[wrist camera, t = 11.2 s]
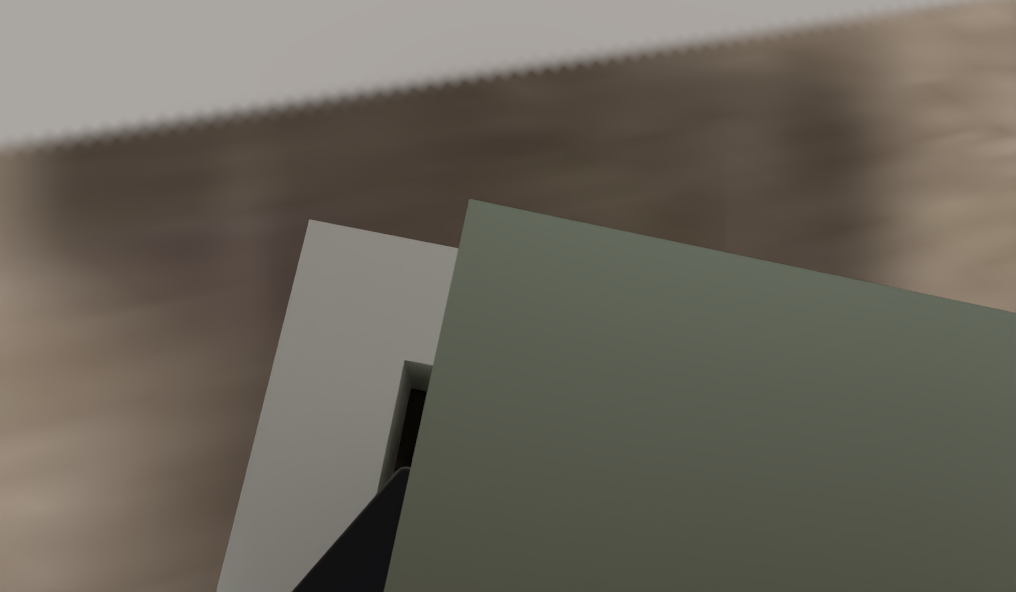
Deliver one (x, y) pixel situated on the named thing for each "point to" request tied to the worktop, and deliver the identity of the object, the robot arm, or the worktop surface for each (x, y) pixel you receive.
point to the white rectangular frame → (335, 397)
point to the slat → (703, 425)
